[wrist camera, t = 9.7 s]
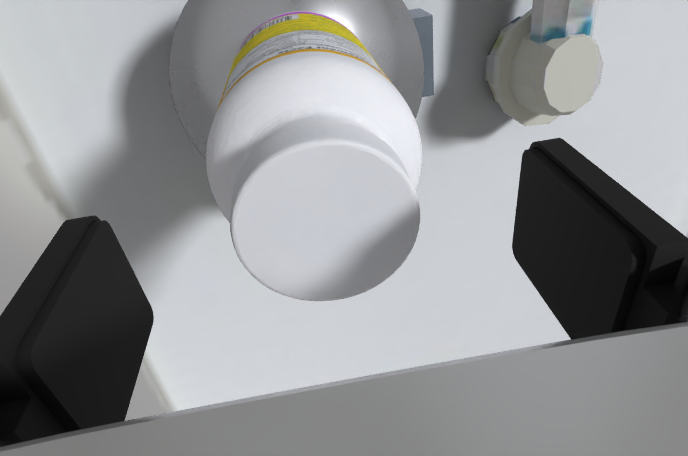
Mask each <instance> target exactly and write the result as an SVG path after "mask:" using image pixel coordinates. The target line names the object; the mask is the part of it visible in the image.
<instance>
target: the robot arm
mask: <svg viewBox="0 0 688 456" xmlns="http://www.w3.org/2000/svg"><path fill="white" fill-rule="evenodd" d="M512 248H513V254H514V256H515V259H516V260H517V262H518V263H519V265H520V266H521V268H522V269H523V270H524V272H525V273H526V275H527V276H528V278H529V279H530V281H531V282H532V283H533V285H534V286H535V288H536V289H537V291H538V292H539V294H540V295H541V296H542V298H543V299H544V301H545V302H546V304H547V305H548V307H549V308H550V309H551V311H552V312H553V314H554V315H555V317H556V318H557V319H558V321H559V322H560V324H561V325H562V327H563V328H564V330H565V331H566V332H567V334H568V335H569V337H570V338H571V340H566V341H560V342H555V343H549V344H543V345H538V346H532V347H526V348H521V349H515V350H509V351H504V352H498V353H492V354H487V355H481V356H475V357H470V358H464V359H458V360H453V361H447V362H441V363H436V364H430V365H424V366H419V367H413V368H408V369H402V370H397V371H391V372H386V373H380V374H375V375H369V376H364V377H358V378H353V379H347V380H342V381H336V382H331V383H325V384H320V385H314V386H309V387H304V388H298V389H293V390H287V391H282V392H276V393H271V394H265V395H260V396H255V397H249V398H244V399H239V400H233V401H228V402H223V403H217V404H212V405H207V406H201V407H196V408H191V409H186V410H180V411H175V412H170V413H164V414H159V415H154V416H148V417H143V418H138V419H132V420H128V421H124V420H125V417H126V414H127V410H128V407H129V404H130V400H131V396H132V393H133V390H134V386H135V383H136V380H137V376H138V373H139V369H140V366H141V363H142V359H143V356H144V352H145V349H146V346H147V342H148V339H149V335H150V332H151V329H152V325H153V311H152V308H151V305H150V303H149V301H148V300H147V298H146V296H145V294H144V292H143V290H142V288H141V286H140V284H139V282H138V280H137V278H136V276H135V274H134V272H133V270H132V268H131V266H130V264H129V262H128V260H127V258H126V256H125V254H124V252H123V250H122V248H121V246H120V244H119V242H118V240H117V238H116V236H115V234H114V232H113V230H112V228H111V226H110V224H109V223H108V222H107V221H105V220H104V221H101V220H100V219H99V218H98V217H96V216H88V217H82V218H76V219H70V220H66V221H65V222H64V223H63V224H62V226H61V227H60V228H59V230H58V231H57V233H56V234H55V236H54V237H53V239H52V240H51V242H50V243H49V245H48V246H47V248H46V249H45V251H44V252H43V254H42V255H41V257H40V258H39V260H38V261H37V263H36V264H35V266H34V267H33V268H32V270H31V272H30V273H29V275H28V276H27V277H26V279H25V280H24V282H23V283H22V285H21V286H20V288H19V289H18V291H17V292H16V294H15V295H14V297H13V298H12V300H11V301H10V303H9V304H8V305H7V307H6V308H5V310H4V312H3V313H2V315H1V316H0V456H688V238H687V237H686V236H684V235H683V234H682V233H680V232H679V231H678V230H677V229H675V228H674V227H673V226H672V225H670V224H669V223H668V222H667V221H665V220H664V219H663V218H661V217H660V216H659V215H658V214H656V213H655V212H654V211H653V210H651V209H650V208H649V207H648V206H646V205H645V204H644V203H643V202H641V201H640V200H639V199H637V198H636V197H635V196H634V195H632V194H631V193H630V192H629V191H627V190H626V189H625V188H624V187H622V186H621V185H620V184H619V183H617V182H616V181H615V180H613V179H612V178H611V177H610V176H608V175H607V174H606V173H605V172H603V171H602V170H601V169H600V168H598V167H597V166H596V165H594V164H593V163H592V162H591V161H589V160H588V159H587V158H586V157H584V156H583V155H582V154H581V153H579V152H578V151H577V150H576V149H574V148H573V147H572V146H570V145H569V144H568V143H567V142H565V141H564V140H563V139H561V138H555V139H549V140H543V141H537V142H533V143H532V144H531V146H530V148H529V149H528V150H525V151H524V153H523V156H522V163H521V172H520V180H519V189H518V198H517V207H516V216H515V225H514V234H513V243H512Z"/></svg>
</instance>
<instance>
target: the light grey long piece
mask: <svg viewBox="0 0 688 456" xmlns="http://www.w3.org/2000/svg"><path fill="white" fill-rule="evenodd" d="M598 2H599V0H533V7H532V9H531V10H530V11H528V12H527V13H526V14H525V15H523V16H522V17H518V18H516V19H515V20H514V21H512V22H511V23H510V24H509V25H507V26H506V27H505V28H504V29H502V30H501V31H500V34H499V36H498V38H497V40H496V42H495V44H494V46H493V48H492V50H491V52H490V55H487V60H486V78H485V80H486V81H488V83H489V86H490V88H491V91H492V93H493V96H494V98H495V99H494V101H496V102H497V103H499V104H500V106H501V109H502V111H503V112H504V113H506V114H507V115H509V116H510V117H512V118H513V119H515V120H516V121H518V122H519V123H521V124H523V125H525V126H532V125H541V124H549V123H550V122H552V121H553V120H554V119H556V118H557V117H558V116H560V115H568V114H571V113H573V112H575V111H576V110H578V109H579V108H580V107H582V106H583V105H584V104H586V103H587V102H588V101H590V99H591V98H592V96H593V94H594V92H595V91H596V89H597V87H598V85H599V84H600V80H601V73H602V67H603V61H602V57H601V54H600V50H599V47H598V45H597V43H596V41H595V40H594V39H593V38H592V32H593V27H594V22H595V17H596V12H597V7H598Z"/></svg>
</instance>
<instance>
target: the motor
mask: <svg viewBox="0 0 688 456" xmlns="http://www.w3.org/2000/svg"><path fill="white" fill-rule="evenodd" d="M293 11H309V12H315V13H319V14H323V15H326V16H328V17H331V18H333V19H335V20H337V21H338V22H340V23H341V24H343V25H344V26H346V27H347V28H348V29H349V30H350V31H351V32H352V33H353V34H354V35H355V36H356V37H357V38H358V39H359V40H360V41H361V43H362V44H363V45H364V47H365V48H366V49H367V51H368V52H369V53H370V55H371V56H372V57H373V59H374V60H375V61H376V63H377V64H378V65H379V67H380V68H381V69H382V71H383V72H384V73H385V75H386V76H387V77H388V78H389V80H390V81H391V82H392V84H393V85H394V86H395V87H396V89H397V90H398V91H399V93H400V94H401V95H402V97H403V98H404V100H405V101H406V103H407V104H408V106H409V108H410V110H411V112H412V114H413V116H414V118H415V119H416V116H417V113H418V110H419V106H420V103H421V98H422V97H425V96H431V95H434V81H433V18H432V15H431V14H429V13H427V12H426V11H424V10H422V9H420V8H419V9H412V10H407V8H406V6H405V4H404V2H403V1H402V0H188V2H187V3H186V5H185V6H184V9H183V11H182V13H181V15H180V17H179V20H178V22H177V25H176V28H175V31H174V35H173V38H172V43H171V50H170V57H169V78H170V86H171V93H172V97H173V101H174V105H175V109H176V111H177V114H178V116H179V119H180V121H181V124H182V126H183V128H184V129H185V131H186V133H187V135H188V136H189V138H190V140H191V141H192V143H193V144H194V145H195V147H196V148H197V149H198V151H199V152H200V153H201V154H202V155H203V156H204V157H205V159H206V147H207V142H208V136H209V133H210V129H211V126H212V123H213V120H214V117H215V114H216V111H217V108H218V105H219V103H220V100H221V97H222V94H223V91H224V88H225V85H226V82H227V79H228V76H229V73H230V70H231V67H232V64H233V61H234V58H235V55H236V53H237V51H238V49H239V47H240V46H241V44H242V43H243V41H244V40H245V38H246V37H247V36H248V35H249V34H250V33H251V32H252V31H253V30H254V29H255V28H256V27H257V26H258V25H260V24H261V23H263V22H264V21H266V20H268V19H270V18H272V17H274V16H277V15H280V14H283V13H287V12H293Z"/></svg>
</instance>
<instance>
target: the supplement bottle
mask: <svg viewBox="0 0 688 456" xmlns="http://www.w3.org/2000/svg"><path fill="white" fill-rule="evenodd" d="M421 167H422V145H421V139H420V133H419V130H418V126H417V123H416V120H415V118H414V116H413V114H412V112H411V110H410V108H409V106H408V104H407V103H406V101H405V100H404V98H403V97H402V95H401V94H400V93H399V91H398V90H397V89H396V87H395V86H394V85H393V84H392V82H391V81H390V80H389V78H388V77H387V76H386V75H385V73H384V72H383V71H382V69H381V68H380V67H379V65H378V64H377V63H376V61H375V60H374V59H373V57H372V56H371V55H370V53H369V52H368V51H367V49H366V48H365V47H364V45H363V44H362V43H361V41H360V40H359V39H358V38H357V37H356V36H355V35H354V34H353V33H352V32H351V31H350V30H349V29H348V28H347V27H346V26H344V25H343V24H341V23H340V22H338V21H337V20H335V19H333V18H331V17H328V16H326V15H323V14H319V13H315V12H309V11H293V12H287V13H283V14H280V15H277V16H274V17H272V18H270V19H268V20H266V21H264V22H263V23H261V24H260V25H258V26H257V27H256V28H255V29H254V30H253V31H252V32H251V33H250V34H249V35H248V36H247V37H246V38H245V40H244V41H243V43H242V44H241V46H240V47H239V49H238V51H237V53H236V55H235V58H234V61H233V64H232V67H231V70H230V73H229V76H228V79H227V82H226V85H225V88H224V91H223V94H222V97H221V100H220V103H219V105H218V108H217V111H216V114H215V117H214V120H213V123H212V126H211V129H210V133H209V136H208V142H207V147H206V169H207V176H208V181H209V185H210V188H211V191H212V194H213V196H214V198H215V200H216V203H217V205H218V207H219V209H220V210H221V212H222V213H223V215H224V216H225V217H226V219H227V220H228V221H229V223H230V232H231V237H232V242H233V245H234V248H235V251H236V253H237V256H238V257H239V259H240V261H241V262H242V264H243V265H244V267H245V268H246V269H247V270H248V272H249V273H250V274H251V275H252V276H253V277H254V278H256V279H257V280H258V281H259V282H260V283H261V284H263V285H265V286H266V287H268V288H270V289H271V290H273V291H275V292H278V293H280V294H282V295H285V296H288V297H292V298H296V299H301V300H309V301H329V300H338V299H344V298H348V297H352V296H355V295H358V294H361V293H363V292H366V291H368V290H370V289H372V288H374V287H375V286H377V285H379V284H380V283H382V282H383V281H385V280H386V279H387V278H388V277H390V276H391V275H392V274H393V273H394V272H395V271H396V270H397V269H398V268H399V267H400V266H401V265H402V263H403V262H404V261H405V259H406V258H407V256H408V255H409V253H410V252H411V250H412V248H413V246H414V243H415V241H416V237H417V234H418V230H419V223H420V208H419V202H418V197H417V194H416V189H417V186H418V182H419V178H420V173H421Z"/></svg>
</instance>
